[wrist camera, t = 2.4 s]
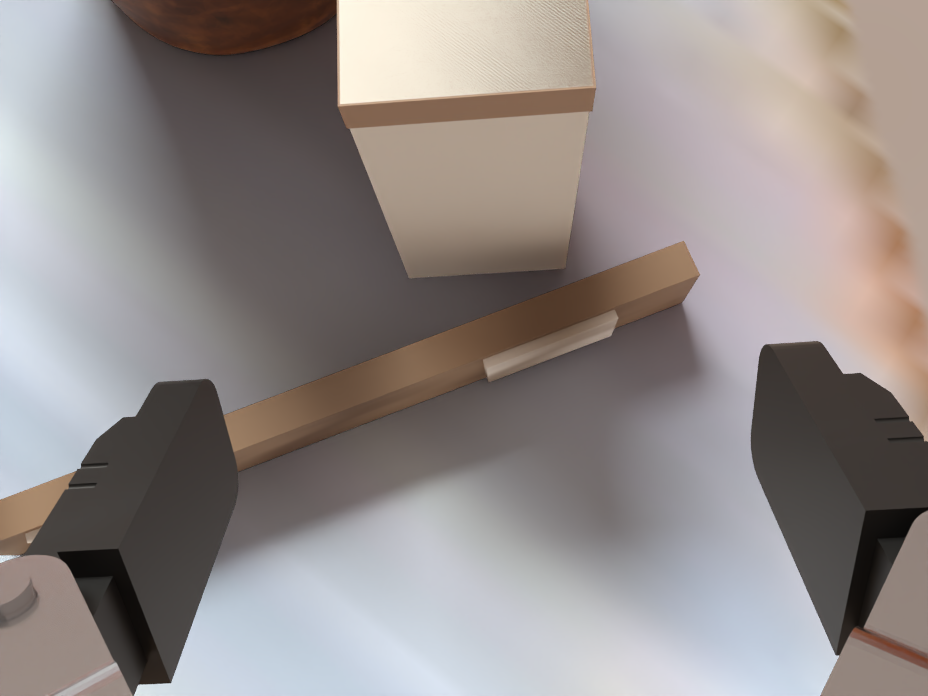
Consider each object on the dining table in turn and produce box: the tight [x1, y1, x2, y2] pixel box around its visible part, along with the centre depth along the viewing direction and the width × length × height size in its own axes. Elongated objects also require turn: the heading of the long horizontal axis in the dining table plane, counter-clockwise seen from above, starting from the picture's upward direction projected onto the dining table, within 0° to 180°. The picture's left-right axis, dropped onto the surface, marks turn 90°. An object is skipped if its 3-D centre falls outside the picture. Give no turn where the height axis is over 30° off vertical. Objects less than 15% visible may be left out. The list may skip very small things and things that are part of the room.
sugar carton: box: [337, 0, 596, 278], centre depth 25 cm, size 6×6×12 cm
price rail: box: [0, 241, 700, 555], centre depth 28 cm, size 24×2×3 cm, turn 111°
